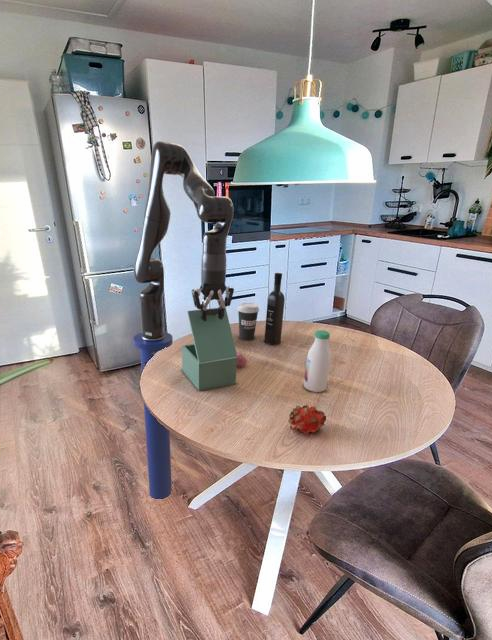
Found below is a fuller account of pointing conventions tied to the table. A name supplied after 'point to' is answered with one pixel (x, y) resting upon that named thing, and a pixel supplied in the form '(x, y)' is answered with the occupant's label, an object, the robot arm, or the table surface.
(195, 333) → the green box lid
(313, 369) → the milk bottle
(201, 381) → the green rectangular box
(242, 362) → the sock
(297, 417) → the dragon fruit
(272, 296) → the wine bottle
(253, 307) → the coffee cup
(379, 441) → the table surface
